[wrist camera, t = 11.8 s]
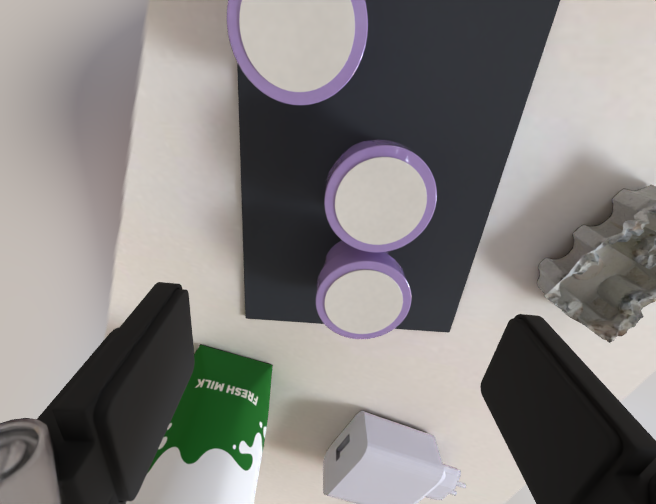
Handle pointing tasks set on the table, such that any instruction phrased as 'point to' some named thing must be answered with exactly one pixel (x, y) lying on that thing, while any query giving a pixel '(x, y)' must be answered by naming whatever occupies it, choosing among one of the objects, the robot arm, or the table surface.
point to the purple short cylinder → (298, 45)
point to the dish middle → (379, 196)
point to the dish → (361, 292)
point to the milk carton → (213, 435)
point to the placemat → (399, 126)
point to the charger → (386, 464)
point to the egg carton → (608, 268)
